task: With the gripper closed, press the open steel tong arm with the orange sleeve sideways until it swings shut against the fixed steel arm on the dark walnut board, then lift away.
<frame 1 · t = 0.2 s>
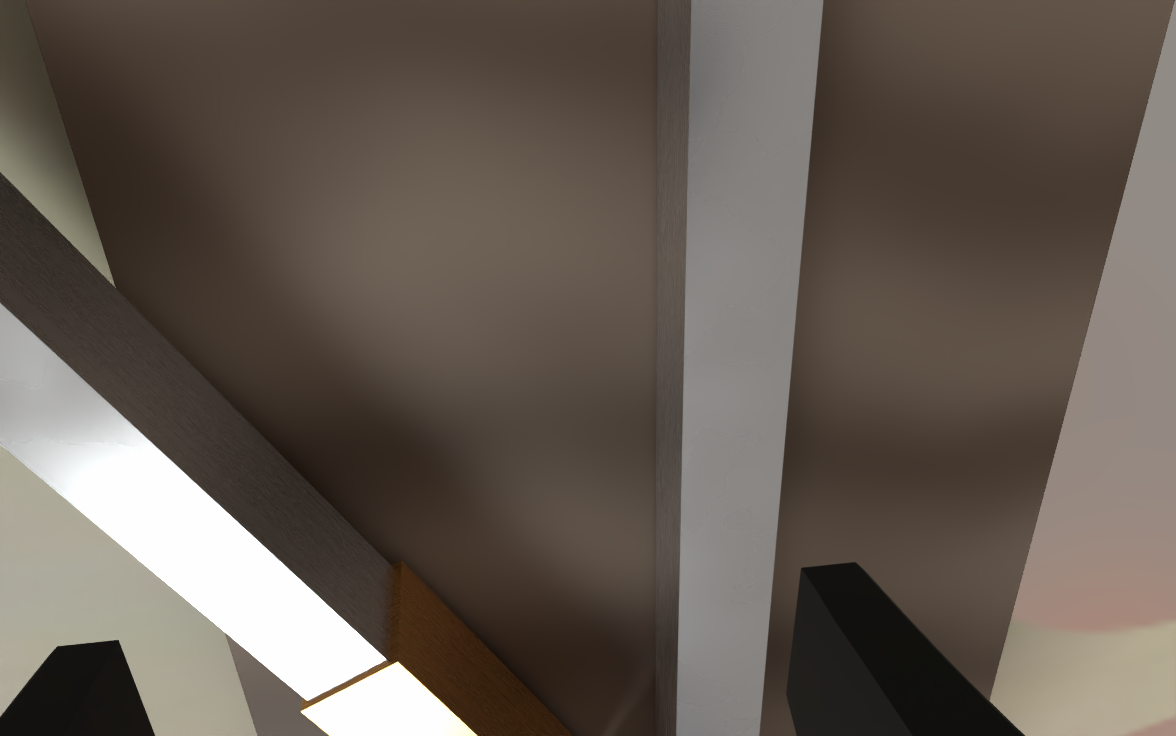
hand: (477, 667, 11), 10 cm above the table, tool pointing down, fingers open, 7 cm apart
tong arm: (371, 594, 20), point 3 cm above the table, hinge at 28.0°
walnut board: (631, 423, 22), on the table
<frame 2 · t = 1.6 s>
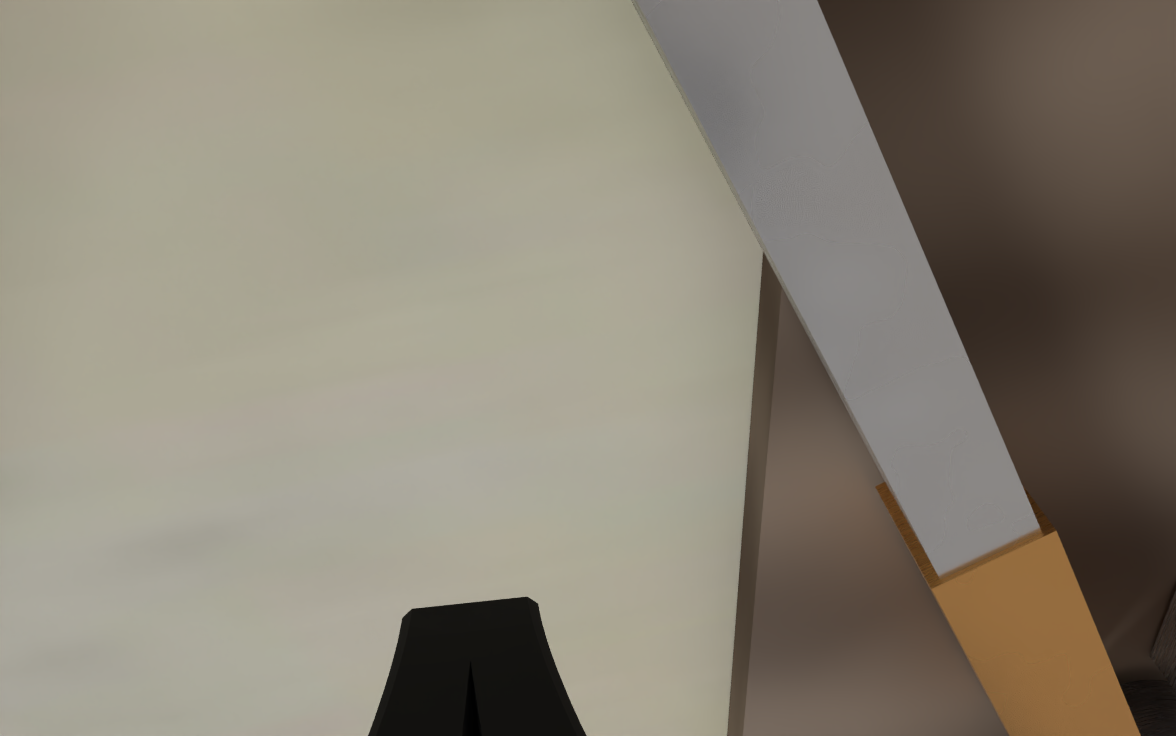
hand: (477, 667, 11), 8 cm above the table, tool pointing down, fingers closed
tong arm: (1001, 459, 18), point 3 cm above the table, hinge at 28.0°
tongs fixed: (1084, 678, 26), resting on walnut board
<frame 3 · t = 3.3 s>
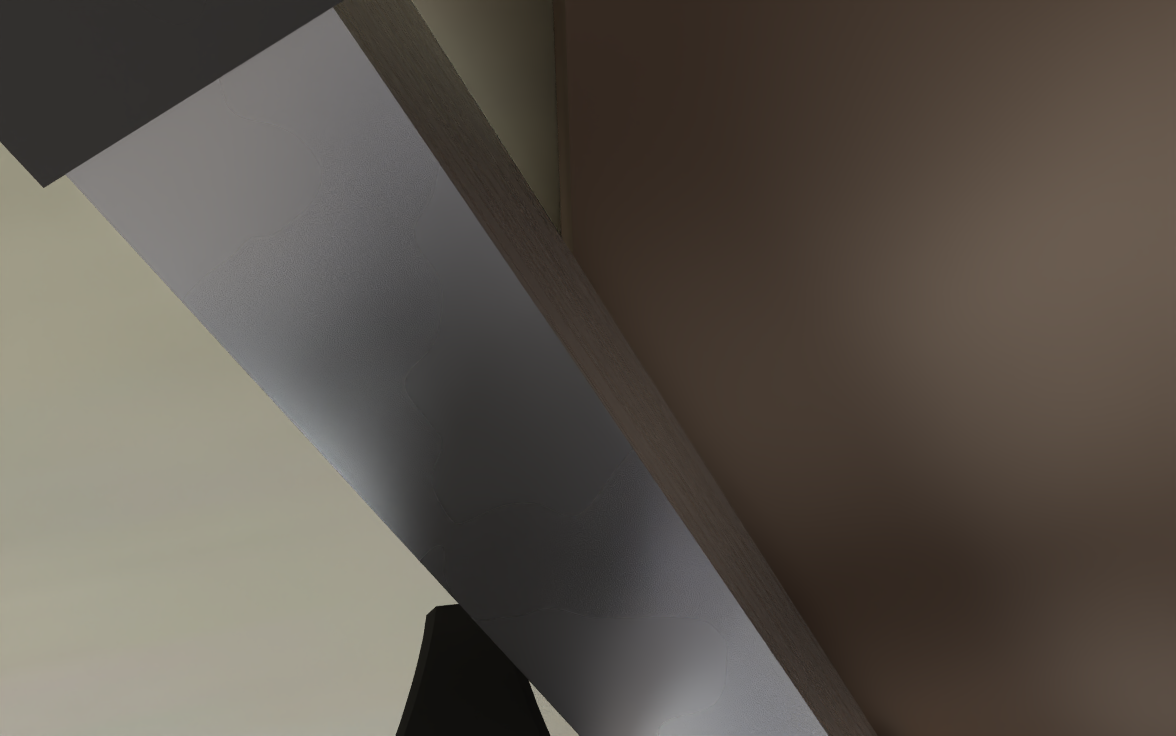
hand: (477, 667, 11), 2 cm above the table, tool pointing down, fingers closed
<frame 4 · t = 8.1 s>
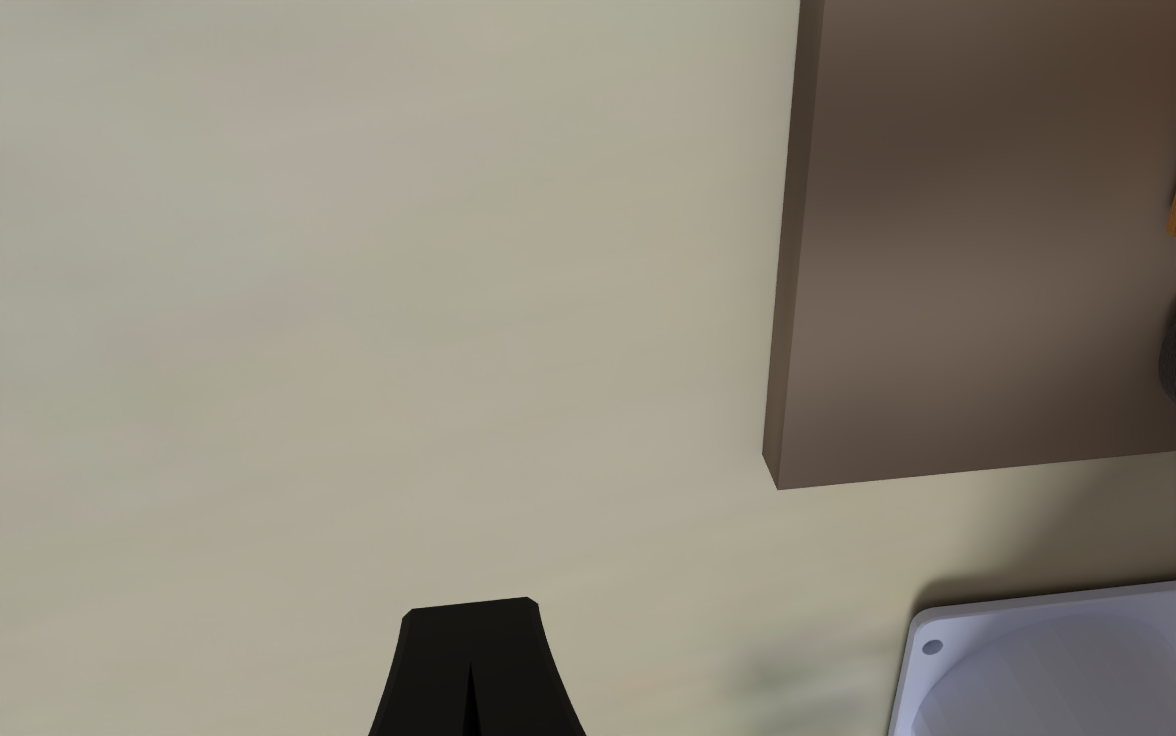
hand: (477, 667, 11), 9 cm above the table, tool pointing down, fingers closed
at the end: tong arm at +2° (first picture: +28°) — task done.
